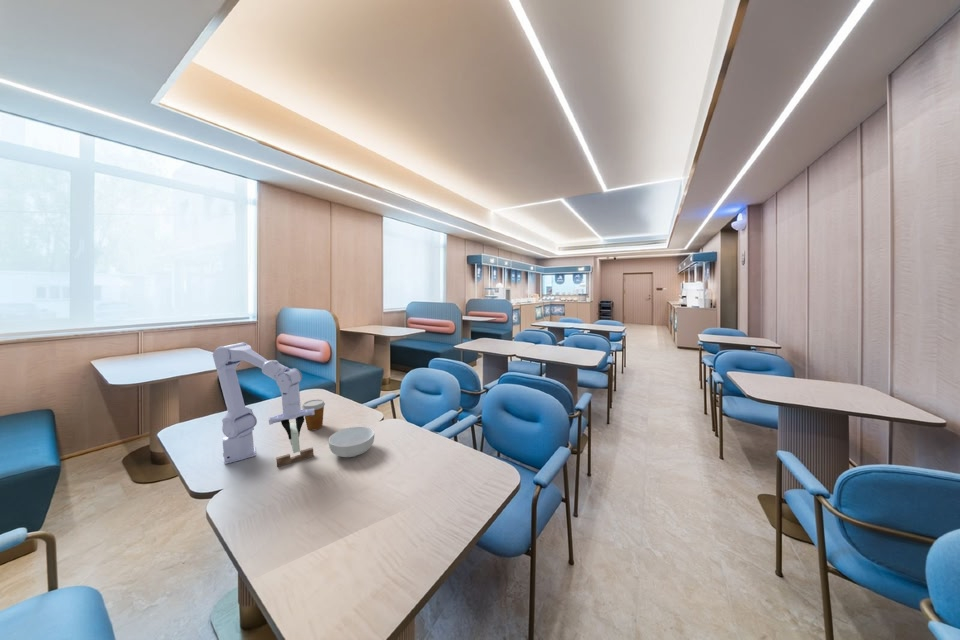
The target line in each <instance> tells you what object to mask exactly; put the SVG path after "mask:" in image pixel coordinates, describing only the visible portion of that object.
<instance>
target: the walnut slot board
mask: <svg viewBox="0 0 960 640" xmlns="http://www.w3.org/2000/svg"><path fill="white" fill-rule="evenodd" d="M299 453H300V454H298V455H293V456H291V454H290V453H287V454H284V455H280V456H276V459H275V460H276V467H278V468H279V467H282V466H286V465H289V464H292V463H295V462H299V461H303V460H305V459H309V458H312V457H314V455H315V454H314V448H313V447H308V448H305V449H302V450H301V449H300V452H299Z"/></svg>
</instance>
